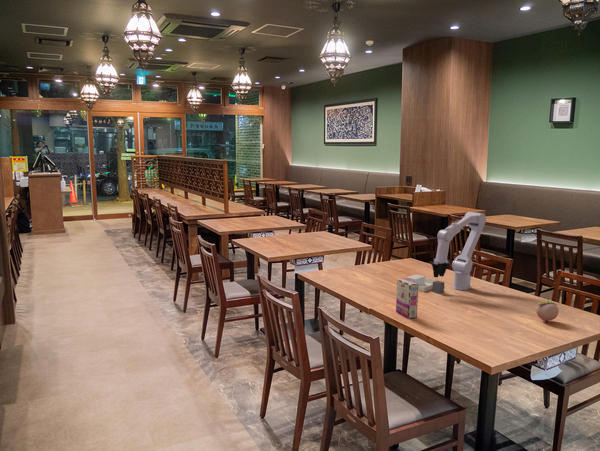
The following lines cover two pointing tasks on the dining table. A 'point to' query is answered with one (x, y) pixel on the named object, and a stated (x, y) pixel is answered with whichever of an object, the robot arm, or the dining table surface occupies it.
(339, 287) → the dining table surface
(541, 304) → the decorative fruit
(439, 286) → the metal block
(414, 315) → the candy bar box
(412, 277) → the plain white rectangular box
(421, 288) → the tote
